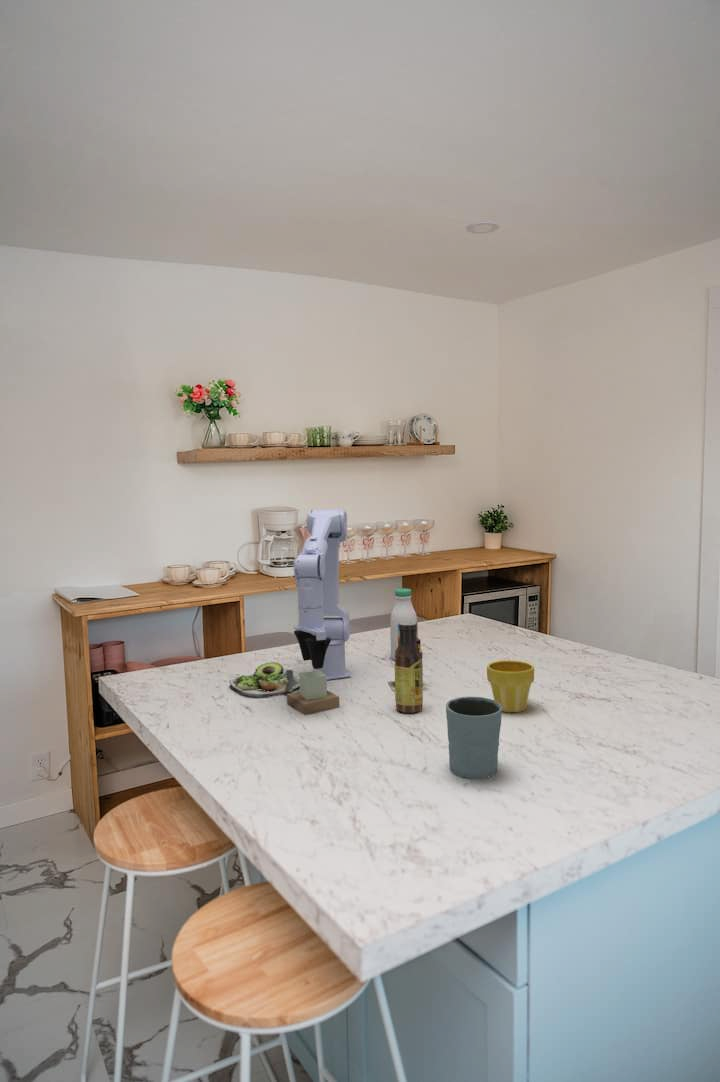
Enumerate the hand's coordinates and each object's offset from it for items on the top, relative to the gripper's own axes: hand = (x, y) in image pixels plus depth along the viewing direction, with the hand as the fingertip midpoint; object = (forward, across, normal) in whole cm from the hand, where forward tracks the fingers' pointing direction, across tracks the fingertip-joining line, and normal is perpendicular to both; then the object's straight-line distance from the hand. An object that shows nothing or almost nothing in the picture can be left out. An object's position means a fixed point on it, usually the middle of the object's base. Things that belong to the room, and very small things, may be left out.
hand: (312, 664), depth 168 cm
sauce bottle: (+10, +12, +19) cm, 24 cm away
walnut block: (+10, 0, 0) cm, 10 cm away
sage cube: (+7, 0, 0) cm, 7 cm away
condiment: (+10, -4, +26) cm, 28 cm away
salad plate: (+10, -20, -6) cm, 23 cm away
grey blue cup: (+10, +46, +16) cm, 50 cm away
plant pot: (+10, +21, +40) cm, 46 cm away
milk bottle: (+10, -27, +36) cm, 46 cm away
